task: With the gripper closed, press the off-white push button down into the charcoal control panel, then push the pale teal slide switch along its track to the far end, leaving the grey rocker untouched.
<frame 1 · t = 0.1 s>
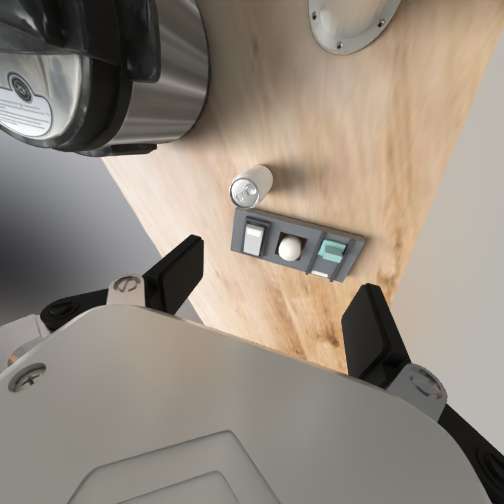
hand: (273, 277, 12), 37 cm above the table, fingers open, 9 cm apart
push button: (290, 247, 48), point 4 cm above the table, slide at 0.0 cm
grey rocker: (253, 240, 48), point 5 cm above the table, hinge at 10.0°
can: (259, 179, 45), on the table
teal slide switch: (331, 252, 44), point 5 cm above the table, slide at 0.0 cm
control panel: (291, 241, 51), on the table
pressure cooker: (154, 70, 40), on the table
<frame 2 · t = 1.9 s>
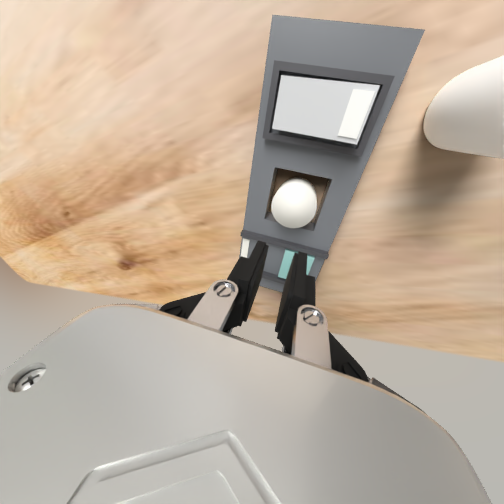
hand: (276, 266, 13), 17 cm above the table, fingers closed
push button: (294, 202, 24), point 4 cm above the table, slide at 0.0 cm
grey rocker: (320, 110, 18), point 5 cm above the table, hinge at 10.0°
can: (462, 111, 19), on the table
teal slide switch: (294, 273, 27), point 5 cm above the table, slide at 0.0 cm
control panel: (297, 194, 27), on the table
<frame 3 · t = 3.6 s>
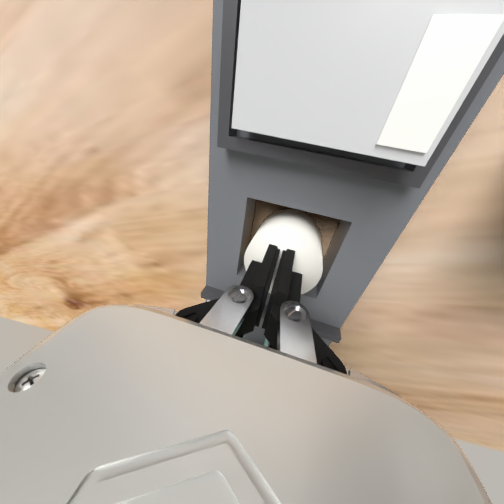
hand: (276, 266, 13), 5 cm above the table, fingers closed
push button: (285, 251, 14), point 3 cm above the table, slide at 0.7 cm, touching gripper
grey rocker: (333, 85, 8), point 5 cm above the table, hinge at 10.0°
teal slide switch: (285, 359, 17), point 5 cm above the table, slide at 0.0 cm
control panel: (289, 234, 17), on the table
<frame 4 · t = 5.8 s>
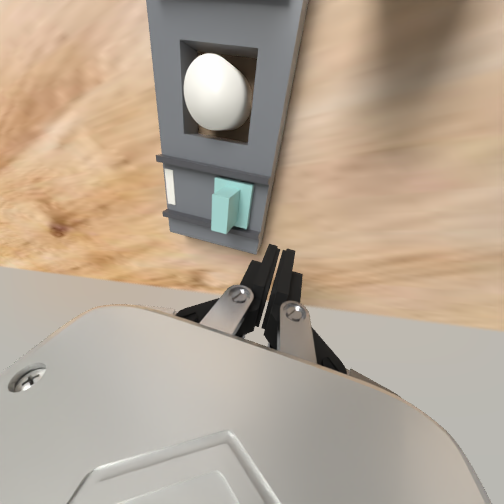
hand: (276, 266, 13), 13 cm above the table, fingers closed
push button: (220, 98, 18), point 2 cm above the table, slide at 1.5 cm
teal slide switch: (227, 208, 20), point 5 cm above the table, slide at 0.0 cm
control panel: (228, 100, 20), on the table
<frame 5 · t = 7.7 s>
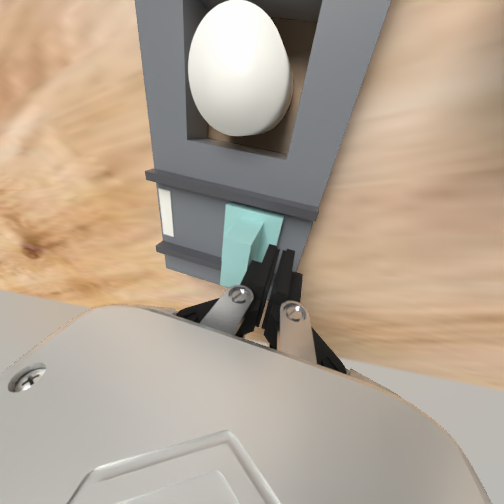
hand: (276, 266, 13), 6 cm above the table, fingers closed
push button: (245, 84, 11), point 2 cm above the table, slide at 1.5 cm
teal slide switch: (243, 250, 14), point 5 cm above the table, slide at 0.5 cm, touching gripper
control panel: (255, 90, 13), on the table
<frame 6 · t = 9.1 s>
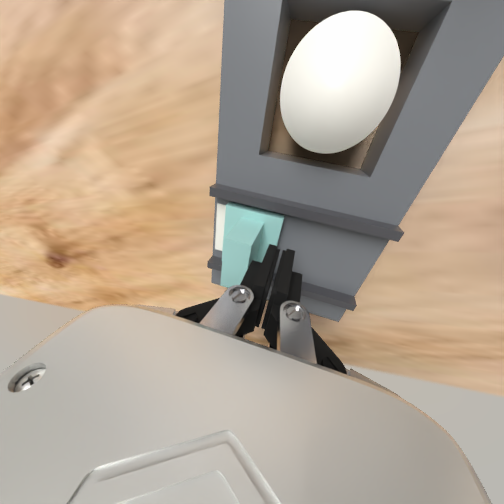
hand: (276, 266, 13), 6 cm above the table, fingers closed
push button: (331, 98, 11), point 2 cm above the table, slide at 1.5 cm
teal slide switch: (244, 250, 14), point 5 cm above the table, slide at 5.3 cm, touching gripper
control panel: (329, 102, 12), on the table
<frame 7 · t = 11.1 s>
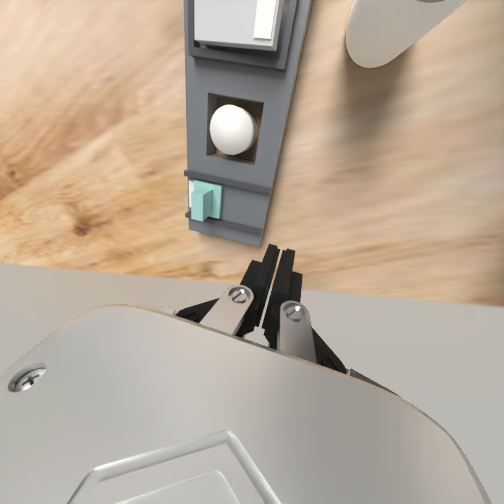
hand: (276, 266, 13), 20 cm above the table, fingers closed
push button: (234, 131, 25), point 2 cm above the table, slide at 1.5 cm
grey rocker: (236, 13, 18), point 5 cm above the table, hinge at 10.0°
can: (379, 26, 20), on the table
teal slide switch: (203, 202, 27), point 5 cm above the table, slide at 5.1 cm
control panel: (239, 131, 27), on the table
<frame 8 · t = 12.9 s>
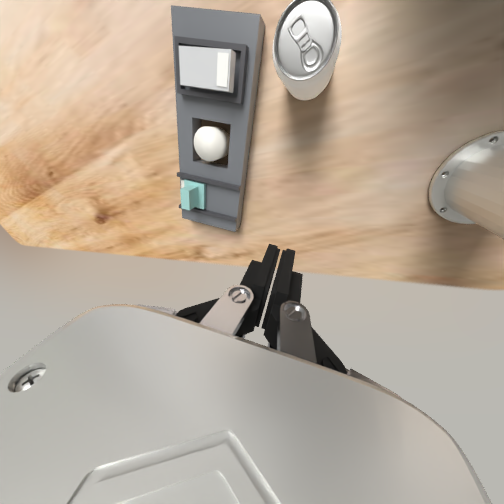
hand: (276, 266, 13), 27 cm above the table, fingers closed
push button: (212, 143, 34), point 2 cm above the table, slide at 1.5 cm
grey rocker: (206, 69, 26), point 5 cm above the table, hinge at 10.0°
can: (308, 72, 28), on the table
teal slide switch: (190, 196, 37), point 5 cm above the table, slide at 5.1 cm
control panel: (217, 143, 36), on the table
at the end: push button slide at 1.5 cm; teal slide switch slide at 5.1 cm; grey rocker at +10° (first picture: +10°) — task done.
